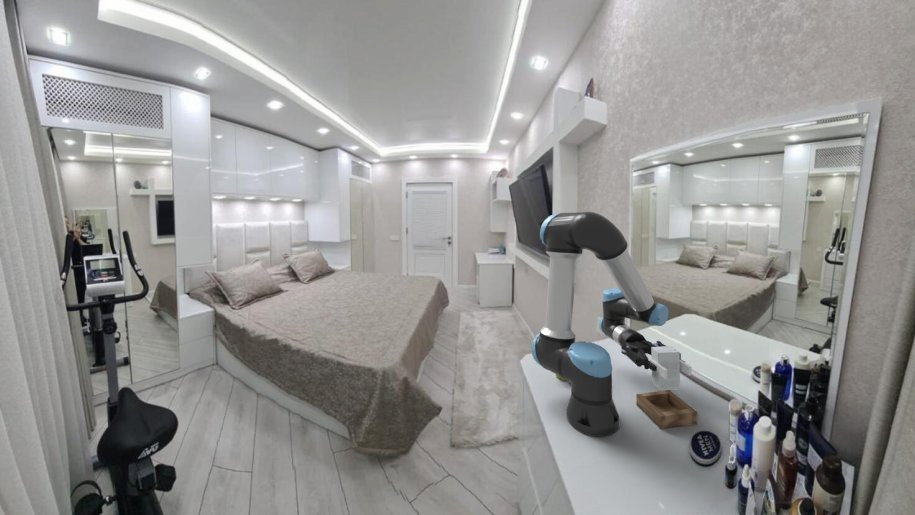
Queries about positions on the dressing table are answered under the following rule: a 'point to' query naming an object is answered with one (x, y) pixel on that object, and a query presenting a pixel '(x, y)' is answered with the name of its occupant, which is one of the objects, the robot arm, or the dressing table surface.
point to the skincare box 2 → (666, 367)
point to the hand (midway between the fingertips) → (678, 372)
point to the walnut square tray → (666, 409)
